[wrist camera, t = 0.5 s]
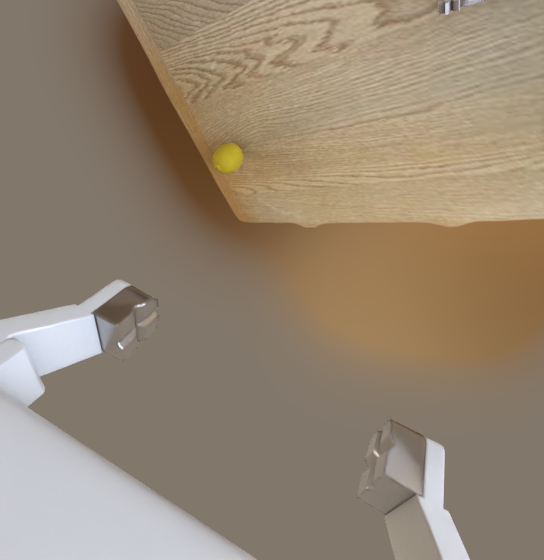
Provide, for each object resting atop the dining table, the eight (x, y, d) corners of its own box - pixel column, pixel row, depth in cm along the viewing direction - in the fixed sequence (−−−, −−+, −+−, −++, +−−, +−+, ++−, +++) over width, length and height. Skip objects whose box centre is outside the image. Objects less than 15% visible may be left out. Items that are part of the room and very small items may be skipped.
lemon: (244, 135, 67) (222, 155, 63) (253, 160, 71) (232, 181, 67) (224, 136, 70) (201, 155, 66) (233, 160, 74) (212, 180, 70)
